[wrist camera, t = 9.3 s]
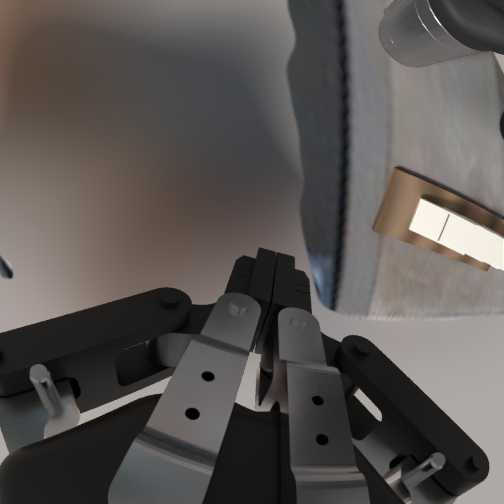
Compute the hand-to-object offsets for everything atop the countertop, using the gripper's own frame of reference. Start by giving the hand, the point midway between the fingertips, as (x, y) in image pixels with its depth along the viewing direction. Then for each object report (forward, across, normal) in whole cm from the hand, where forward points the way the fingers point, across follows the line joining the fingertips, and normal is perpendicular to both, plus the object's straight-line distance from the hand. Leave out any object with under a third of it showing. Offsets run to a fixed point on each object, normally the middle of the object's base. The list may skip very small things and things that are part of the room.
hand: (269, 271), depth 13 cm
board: (+32, -29, +1) cm, 43 cm away
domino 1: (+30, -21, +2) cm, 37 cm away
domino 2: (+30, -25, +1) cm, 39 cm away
